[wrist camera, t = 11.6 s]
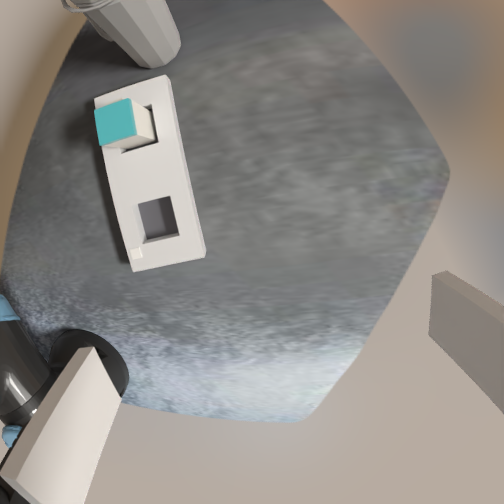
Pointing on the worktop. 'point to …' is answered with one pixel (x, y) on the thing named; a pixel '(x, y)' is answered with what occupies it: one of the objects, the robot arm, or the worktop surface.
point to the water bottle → (134, 27)
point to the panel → (154, 185)
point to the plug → (124, 124)
